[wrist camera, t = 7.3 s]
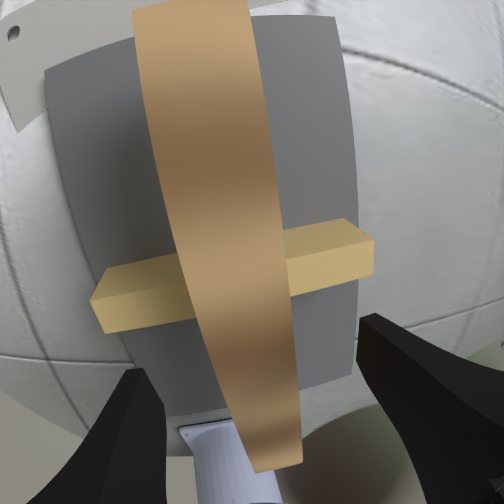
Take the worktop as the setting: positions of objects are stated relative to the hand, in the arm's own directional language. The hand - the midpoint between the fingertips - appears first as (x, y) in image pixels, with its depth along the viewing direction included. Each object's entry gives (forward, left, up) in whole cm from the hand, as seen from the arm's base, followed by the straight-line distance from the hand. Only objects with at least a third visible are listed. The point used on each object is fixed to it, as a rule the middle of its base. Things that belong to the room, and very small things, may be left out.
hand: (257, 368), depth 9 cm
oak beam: (0, 0, -5) cm, 5 cm away
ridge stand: (0, 0, -10) cm, 10 cm away
